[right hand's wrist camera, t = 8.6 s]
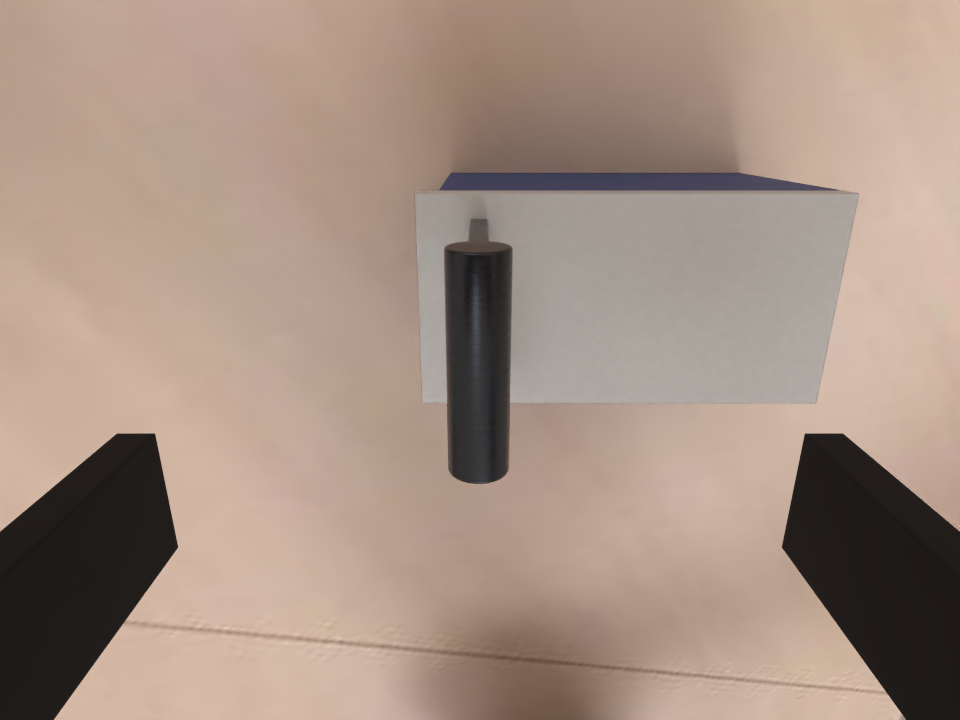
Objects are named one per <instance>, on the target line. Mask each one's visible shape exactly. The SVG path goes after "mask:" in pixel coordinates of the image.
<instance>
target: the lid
mask: <svg viewBox="0 0 960 720" xmlns="http://www.w3.org/2000/svg"><path fill="white" fill-rule="evenodd" d="M858 197H859V194H858V193H854V192H848V191H440V190H419V191H417V192H416V193H415V219H416V248H417V276H418V304H419V332H420V360H421V389H422V403H447V426H448V469H449V471H450V473H451V475H452V476H453V477H455V478H456V479H458V480H460V481H463V482H467V483H473V484H484V483H490V482H494V481H497V480H499V479H501V478H502V477H504V476H505V475H506V473H507V472H508V469H509V430H510V403H816V401H817V396H818V392H819V387H820V382H821V377H822V372H823V367H824V362H825V358H826V353H827V348H828V343H829V338H830V333H831V328H832V324H833V319H834V314H835V309H836V304H837V299H838V294H839V290H840V285H841V280H842V275H843V270H844V265H845V260H846V255H847V251H848V246H849V241H850V236H851V231H852V226H853V221H854V217H855V212H856V207H857V202H858Z"/></svg>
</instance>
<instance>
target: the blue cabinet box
mask: <svg viewBox="0 0 960 720" xmlns="http://www.w3.org/2000/svg"><path fill="white" fill-rule="evenodd" d="M440 191H840V190H835V189H830V188H824V187H818V186H812V185H806V184H800V183H794V182H789V181H783V180H777V179H771V178H765V177H759V176H753V175H748V174H742V173H451V174H450V175H449V177H448V178H447V180H446V181H445V182H444V184H443V185H442V187H441V188H440Z"/></svg>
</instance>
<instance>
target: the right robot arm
mask: <svg viewBox="0 0 960 720" xmlns="http://www.w3.org/2000/svg"><path fill="white" fill-rule="evenodd" d="M177 548H178V545H177V540H176V535H175V530H174V525H173V520H172V515H171V510H170V505H169V500H168V495H167V490H166V485H165V480H164V476H163V471H162V466H161V461H160V456H159V451H158V446H157V441H156V436H155V434H116V435H115V436H114V437H113V438H111V439H110V440H109V441H108V442H107V443H105V444H104V445H103V446H102V447H101V448H99V449H98V450H97V451H96V452H95V453H93V454H92V455H91V456H90V457H89V458H88V459H86V460H85V461H84V462H83V463H82V464H80V465H79V466H78V467H77V468H76V469H74V470H73V471H72V472H71V473H70V474H68V475H67V476H66V477H65V478H64V479H63V480H61V481H60V482H59V483H58V484H57V485H55V486H54V487H53V488H52V489H51V490H49V491H48V492H47V493H46V494H45V495H43V496H42V497H41V498H40V499H39V500H37V501H36V502H35V503H34V504H33V505H32V506H30V507H29V508H28V509H27V510H26V511H24V512H23V513H22V514H21V515H20V516H18V517H17V518H16V519H15V520H14V521H12V522H11V523H10V524H9V525H8V526H7V527H5V528H4V529H3V530H2V531H1V532H0V720H54V719H55V717H56V716H57V714H58V713H59V712H60V710H61V709H62V708H63V706H64V705H65V703H66V702H67V701H68V699H69V698H70V696H71V695H72V694H73V692H74V691H75V689H76V688H77V687H78V685H79V684H80V683H81V681H82V680H83V678H84V677H85V676H86V674H87V673H88V671H89V670H90V669H91V667H92V666H93V665H94V663H95V662H96V660H97V659H98V658H99V656H100V655H101V653H102V652H103V651H104V649H105V648H106V647H107V645H108V644H109V642H110V641H111V640H112V638H113V637H114V635H115V634H116V633H117V631H118V630H119V629H120V627H121V626H122V624H123V623H124V622H125V620H126V619H127V617H128V616H129V615H130V613H131V612H132V610H133V609H134V608H135V606H136V605H137V604H138V602H139V601H140V599H141V598H142V597H143V595H144V594H145V592H146V591H147V590H148V588H149V587H150V586H151V584H152V583H153V581H154V580H155V579H156V577H157V576H158V574H159V573H160V572H161V570H162V569H163V568H164V566H165V565H166V563H167V562H168V561H169V559H170V558H171V556H172V555H173V554H174V552H175V551H176V550H177ZM782 548H783V550H784V551H785V552H786V554H787V555H788V556H789V558H790V559H791V561H792V562H793V563H794V565H795V566H796V568H797V569H798V570H799V572H800V573H801V574H802V576H803V577H804V579H805V580H806V581H807V583H808V584H809V586H810V587H811V588H812V590H813V591H814V592H815V594H816V595H817V597H818V598H819V599H820V601H821V602H822V604H823V605H824V606H825V608H826V609H827V611H828V612H829V613H830V615H831V616H832V617H833V619H834V620H835V622H836V623H837V624H838V626H839V627H840V629H841V630H842V631H843V633H844V634H845V635H846V637H847V638H848V640H849V641H850V642H851V644H852V645H853V647H854V648H855V649H856V651H857V652H858V653H859V655H860V656H861V658H862V659H863V660H864V662H865V663H866V665H867V666H868V667H869V669H870V670H871V671H872V673H873V674H874V676H875V677H876V678H877V680H878V681H879V683H880V684H881V685H882V687H883V688H884V689H885V691H886V692H887V694H888V695H889V696H890V698H891V699H892V701H893V702H894V703H895V705H896V706H897V708H898V709H899V710H900V712H901V713H902V714H903V716H904V717H905V719H906V720H960V532H959V531H958V530H957V529H956V528H955V527H953V526H952V525H951V524H950V523H949V522H948V521H946V520H945V519H944V518H943V517H942V516H940V515H939V514H938V513H937V512H936V511H934V510H933V509H932V508H931V507H930V506H928V505H927V504H926V503H925V502H924V501H923V500H921V499H920V498H919V497H918V496H917V495H915V494H914V493H913V492H912V491H911V490H909V489H908V488H907V487H906V486H905V485H903V484H902V483H901V482H900V481H899V480H897V479H896V478H895V477H894V476H893V475H892V474H890V473H889V472H888V471H887V470H886V469H884V468H883V467H882V466H881V465H880V464H878V463H877V462H876V461H875V460H874V459H872V458H871V457H870V456H869V455H868V454H867V453H865V452H864V451H863V450H862V449H861V448H859V447H858V446H857V445H856V444H855V443H853V442H852V441H851V440H850V439H849V438H847V437H846V436H845V435H844V434H805V436H804V441H803V446H802V451H801V456H800V461H799V466H798V471H797V476H796V480H795V485H794V490H793V495H792V500H791V505H790V510H789V515H788V520H787V525H786V530H785V535H784V540H783V545H782Z"/></svg>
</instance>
